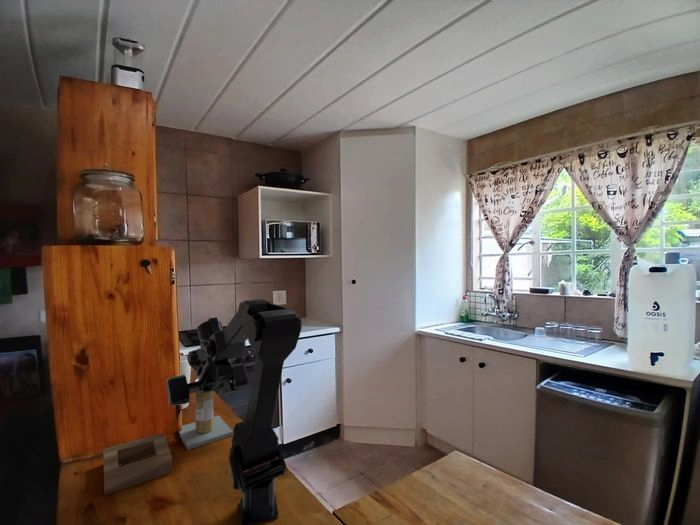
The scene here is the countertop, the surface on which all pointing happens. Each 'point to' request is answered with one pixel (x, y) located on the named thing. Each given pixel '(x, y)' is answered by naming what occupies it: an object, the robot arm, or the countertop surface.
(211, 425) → the sprinkles bottle
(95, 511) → the countertop surface
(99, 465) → the countertop surface
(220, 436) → the slate mat
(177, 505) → the countertop surface
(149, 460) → the bottle holder
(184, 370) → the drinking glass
